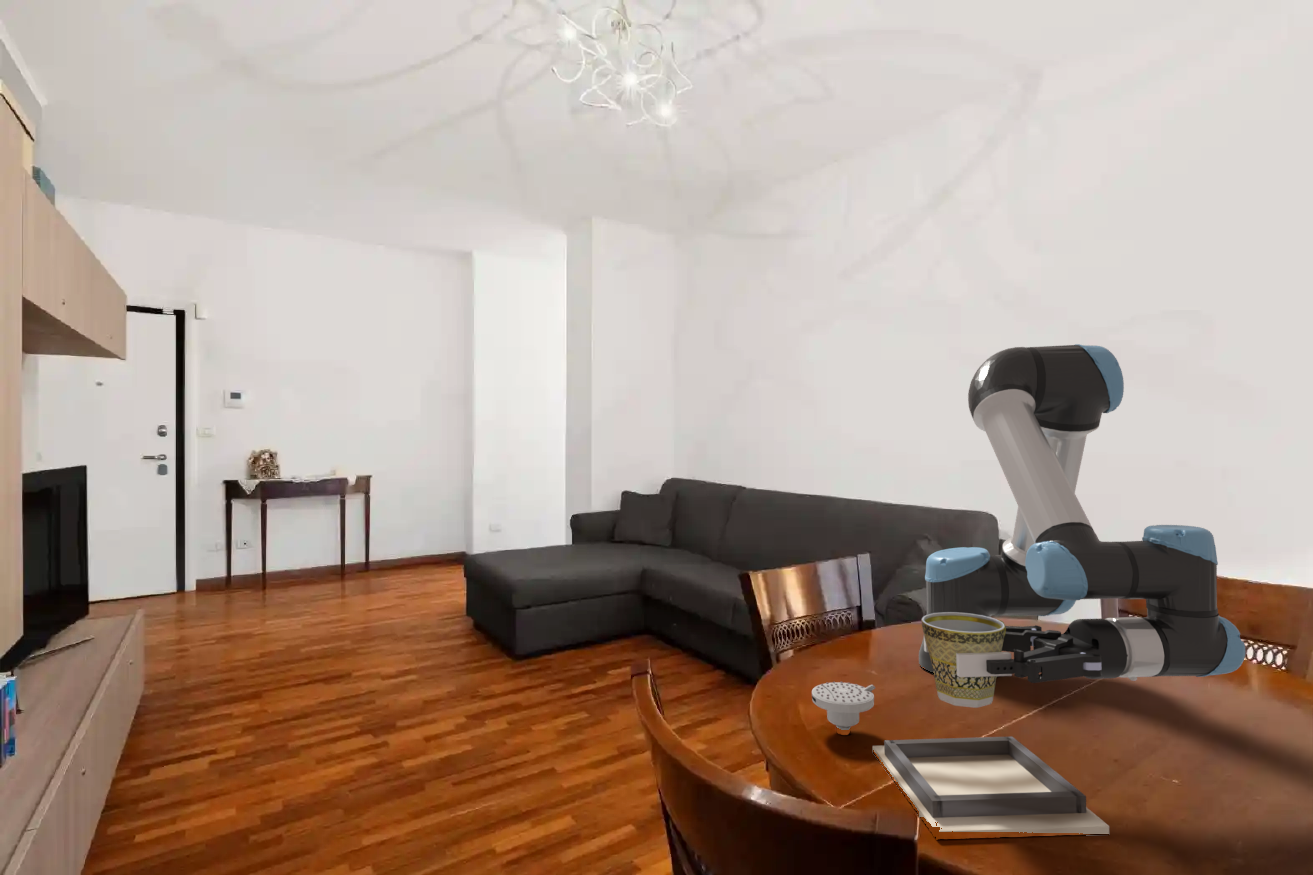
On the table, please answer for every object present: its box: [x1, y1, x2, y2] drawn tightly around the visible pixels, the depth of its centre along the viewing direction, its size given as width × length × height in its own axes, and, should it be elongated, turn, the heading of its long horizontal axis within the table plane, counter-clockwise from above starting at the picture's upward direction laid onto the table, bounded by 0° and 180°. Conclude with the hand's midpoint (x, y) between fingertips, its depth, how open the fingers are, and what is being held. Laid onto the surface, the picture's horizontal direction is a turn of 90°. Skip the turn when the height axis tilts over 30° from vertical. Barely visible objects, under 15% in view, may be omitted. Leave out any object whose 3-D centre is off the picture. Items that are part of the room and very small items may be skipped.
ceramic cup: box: [920, 612, 1006, 709], centre depth 90 cm, size 13×10×10 cm
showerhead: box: [811, 681, 876, 730], centre depth 107 cm, size 9×7×10 cm
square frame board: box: [872, 736, 1110, 835], centre depth 89 cm, size 22×20×3 cm
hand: (940, 652), depth 89 cm, fingers closed on ceramic cup, 9 cm apart
